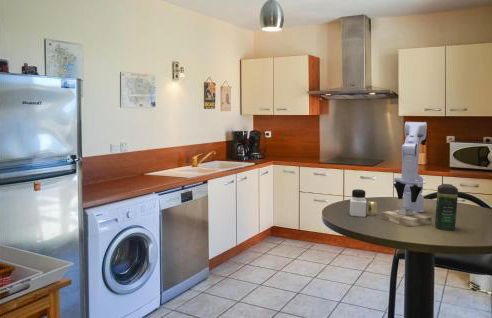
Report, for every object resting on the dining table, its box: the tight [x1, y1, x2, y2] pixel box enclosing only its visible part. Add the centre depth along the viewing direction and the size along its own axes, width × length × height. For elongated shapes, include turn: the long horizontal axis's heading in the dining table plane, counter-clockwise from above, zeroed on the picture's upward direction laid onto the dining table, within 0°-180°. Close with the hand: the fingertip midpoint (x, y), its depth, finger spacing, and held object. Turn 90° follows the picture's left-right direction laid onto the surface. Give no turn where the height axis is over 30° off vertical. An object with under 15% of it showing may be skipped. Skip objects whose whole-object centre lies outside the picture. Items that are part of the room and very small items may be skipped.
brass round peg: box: [367, 200, 378, 216], centre depth 209 cm, size 4×4×6 cm
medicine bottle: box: [349, 188, 368, 218], centre depth 207 cm, size 7×7×12 cm
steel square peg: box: [398, 206, 413, 216], centre depth 197 cm, size 4×4×6 cm
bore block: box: [380, 209, 433, 228], centre depth 197 cm, size 14×16×3 cm
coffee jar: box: [434, 183, 459, 231], centre depth 186 cm, size 10×8×19 cm
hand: (406, 200), depth 196 cm, fingers open, 7 cm apart
